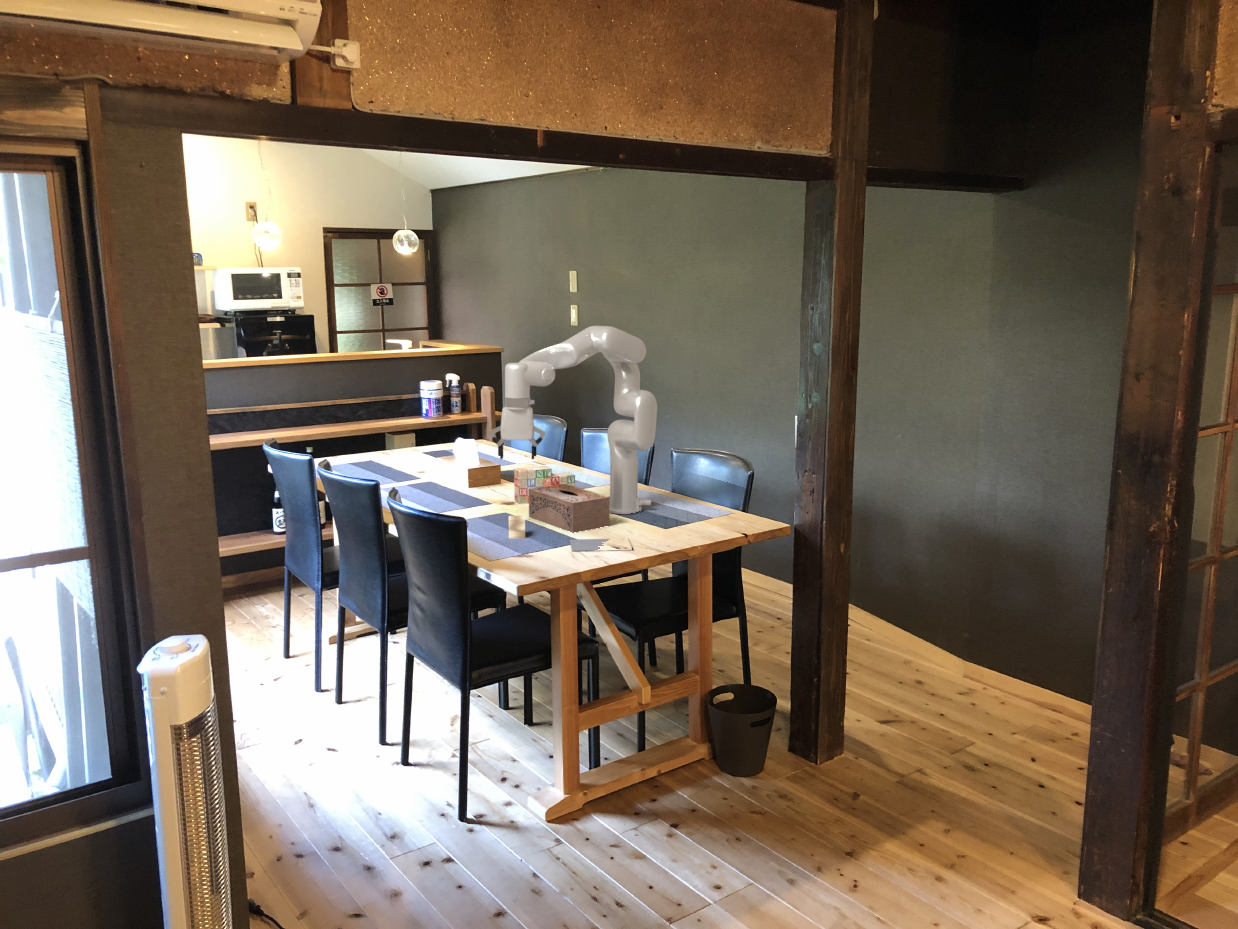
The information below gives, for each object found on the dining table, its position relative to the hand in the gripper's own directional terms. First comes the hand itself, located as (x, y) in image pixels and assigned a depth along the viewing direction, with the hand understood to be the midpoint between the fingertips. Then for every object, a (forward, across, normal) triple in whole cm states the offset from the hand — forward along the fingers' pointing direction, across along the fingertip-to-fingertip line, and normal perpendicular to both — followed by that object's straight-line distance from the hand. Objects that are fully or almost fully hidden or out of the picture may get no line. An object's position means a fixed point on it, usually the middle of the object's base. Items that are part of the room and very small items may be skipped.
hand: (517, 458), depth 291 cm
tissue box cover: (+24, -16, -15) cm, 33 cm away
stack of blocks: (+24, -7, -47) cm, 53 cm away
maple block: (+24, 0, +3) cm, 24 cm away
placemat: (+24, -26, +15) cm, 38 cm away
